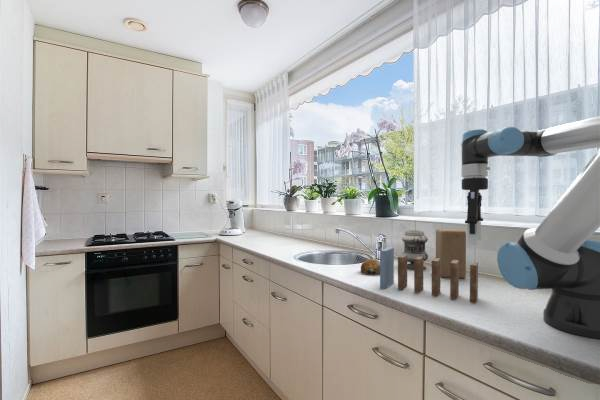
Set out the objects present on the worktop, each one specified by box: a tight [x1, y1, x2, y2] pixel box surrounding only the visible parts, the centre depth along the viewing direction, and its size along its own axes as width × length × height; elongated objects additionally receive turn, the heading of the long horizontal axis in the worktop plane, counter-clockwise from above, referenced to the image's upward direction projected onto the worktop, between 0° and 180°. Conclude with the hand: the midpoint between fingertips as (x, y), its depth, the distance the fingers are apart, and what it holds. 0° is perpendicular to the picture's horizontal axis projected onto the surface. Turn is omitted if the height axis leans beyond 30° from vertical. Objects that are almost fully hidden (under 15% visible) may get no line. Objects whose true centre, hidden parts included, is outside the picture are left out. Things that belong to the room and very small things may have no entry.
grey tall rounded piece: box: [401, 229, 429, 271], centre depth 147 cm, size 12×12×18 cm
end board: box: [379, 246, 395, 290], centre depth 116 cm, size 2×10×14 cm, turn 146°
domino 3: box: [431, 257, 441, 297], centre depth 106 cm, size 2×6×12 cm, turn 145°
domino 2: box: [413, 256, 424, 294], centre depth 110 cm, size 2×6×12 cm, turn 146°
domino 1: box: [397, 254, 408, 291], centre depth 113 cm, size 2×6×12 cm, turn 145°
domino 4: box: [449, 260, 460, 300], centre depth 103 cm, size 2×6×12 cm, turn 145°
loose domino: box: [469, 261, 479, 304], centre depth 100 cm, size 2×6×12 cm, turn 145°
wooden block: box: [435, 228, 467, 279], centre depth 132 cm, size 10×10×20 cm
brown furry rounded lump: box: [360, 258, 380, 276], centre depth 137 cm, size 10×10×8 cm
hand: (474, 242), depth 100 cm, fingers open, 13 cm apart
